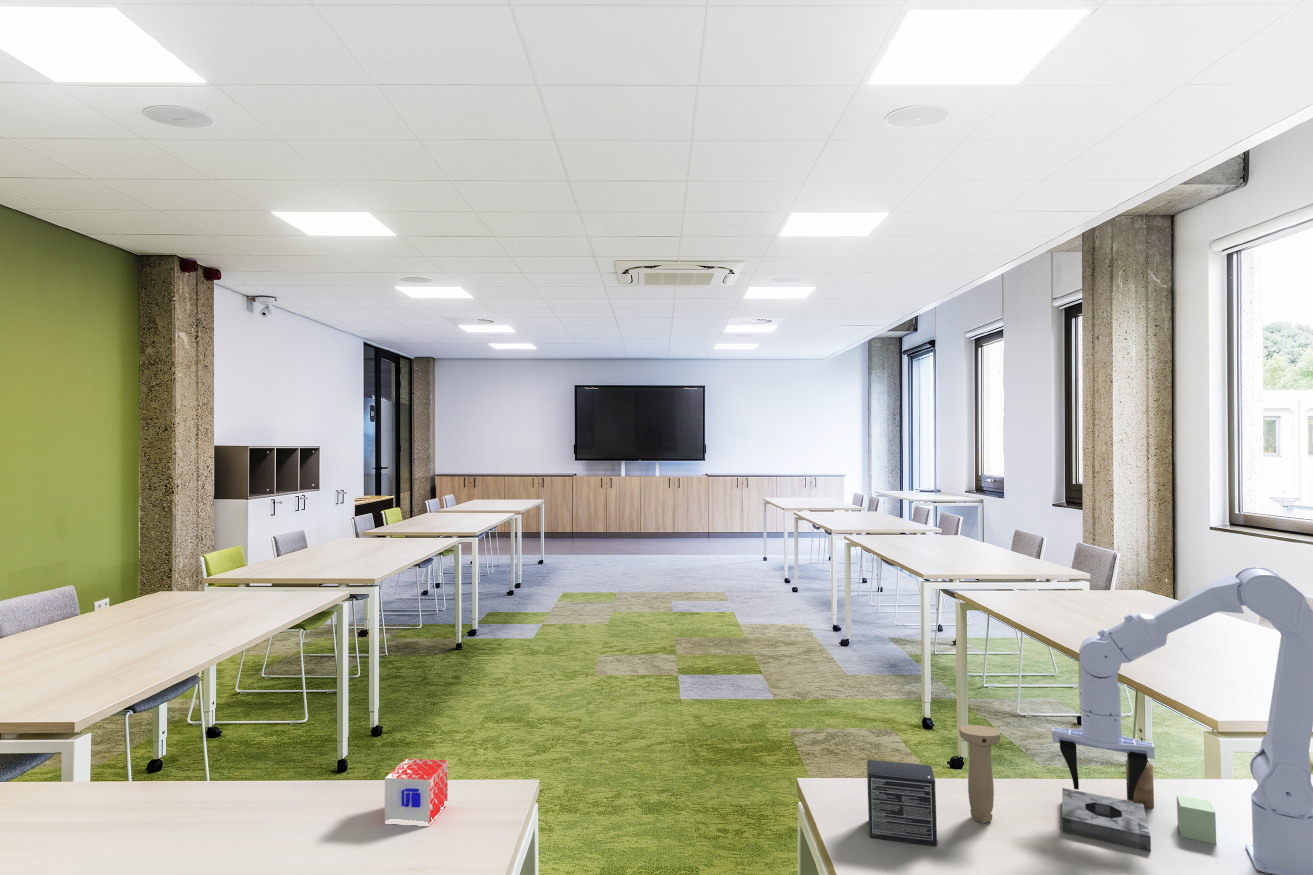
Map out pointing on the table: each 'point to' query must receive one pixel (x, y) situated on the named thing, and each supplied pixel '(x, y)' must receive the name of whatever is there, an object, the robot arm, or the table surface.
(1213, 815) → the square bit
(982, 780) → the handle
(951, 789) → the table surface
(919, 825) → the small box
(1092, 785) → the table surface
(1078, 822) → the socket block
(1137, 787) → the walnut peg
